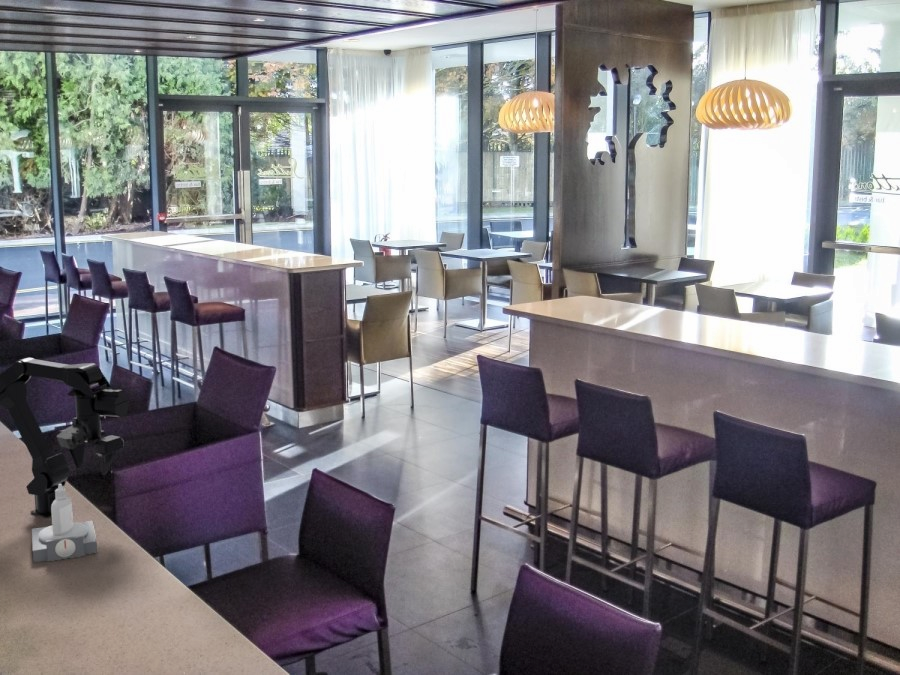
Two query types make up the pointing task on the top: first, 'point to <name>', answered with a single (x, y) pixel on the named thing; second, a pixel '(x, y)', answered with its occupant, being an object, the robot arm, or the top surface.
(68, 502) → the eye dropper bottle
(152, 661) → the top surface
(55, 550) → the dial scale
